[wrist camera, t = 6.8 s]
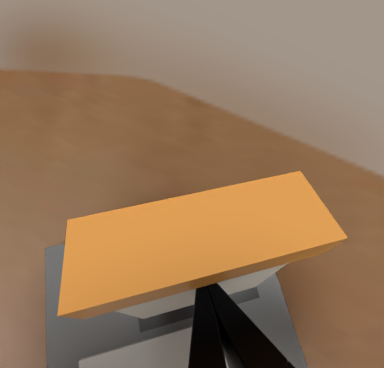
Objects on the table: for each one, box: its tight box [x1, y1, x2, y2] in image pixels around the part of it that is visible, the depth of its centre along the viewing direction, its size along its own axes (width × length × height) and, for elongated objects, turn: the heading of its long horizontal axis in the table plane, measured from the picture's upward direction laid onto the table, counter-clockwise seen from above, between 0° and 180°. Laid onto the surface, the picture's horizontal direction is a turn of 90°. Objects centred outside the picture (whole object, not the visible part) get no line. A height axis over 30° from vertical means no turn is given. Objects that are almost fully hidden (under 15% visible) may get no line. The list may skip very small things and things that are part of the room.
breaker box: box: [45, 243, 308, 368], centre depth 16 cm, size 12×16×4 cm
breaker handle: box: [57, 171, 347, 319], centre depth 10 cm, size 2×7×10 cm, turn 103°
